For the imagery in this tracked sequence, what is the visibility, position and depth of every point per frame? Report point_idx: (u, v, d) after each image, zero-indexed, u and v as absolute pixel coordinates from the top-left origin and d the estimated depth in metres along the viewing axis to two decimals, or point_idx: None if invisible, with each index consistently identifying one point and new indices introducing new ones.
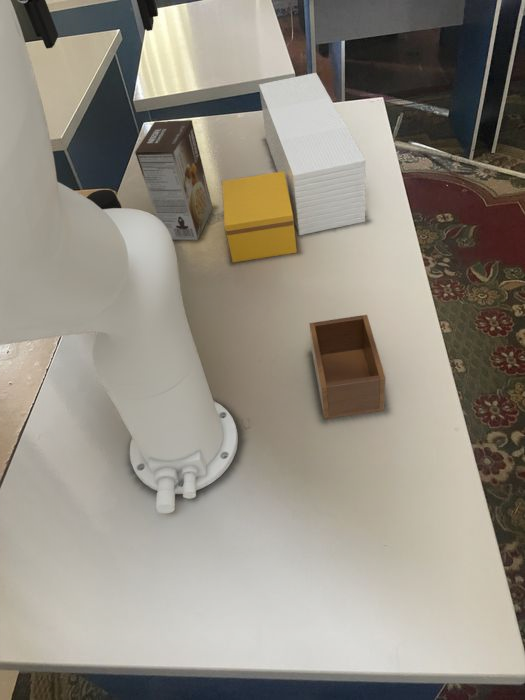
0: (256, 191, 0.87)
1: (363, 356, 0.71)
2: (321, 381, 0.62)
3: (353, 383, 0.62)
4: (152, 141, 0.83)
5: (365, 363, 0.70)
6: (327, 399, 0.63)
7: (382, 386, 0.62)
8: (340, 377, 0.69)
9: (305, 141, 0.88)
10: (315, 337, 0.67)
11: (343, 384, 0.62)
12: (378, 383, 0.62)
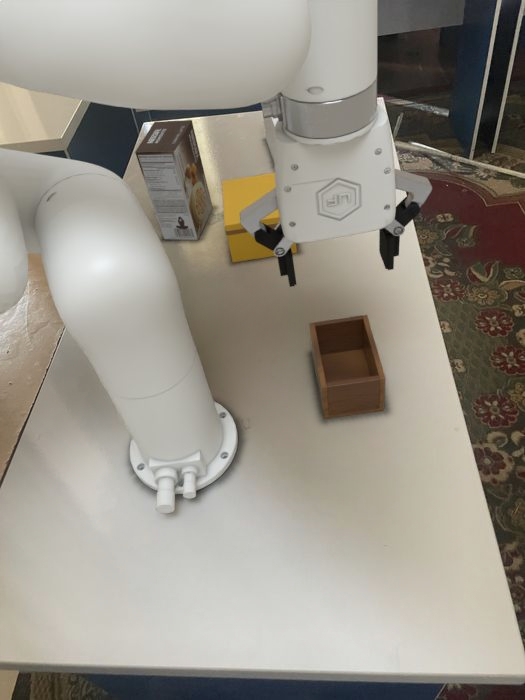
0: (256, 191, 0.87)
1: (363, 356, 0.71)
2: (321, 381, 0.62)
3: (353, 383, 0.62)
4: (152, 141, 0.83)
5: (365, 363, 0.70)
6: (327, 399, 0.63)
7: (382, 386, 0.62)
8: (340, 377, 0.69)
9: None
10: (315, 337, 0.67)
11: (343, 384, 0.62)
12: (378, 383, 0.62)
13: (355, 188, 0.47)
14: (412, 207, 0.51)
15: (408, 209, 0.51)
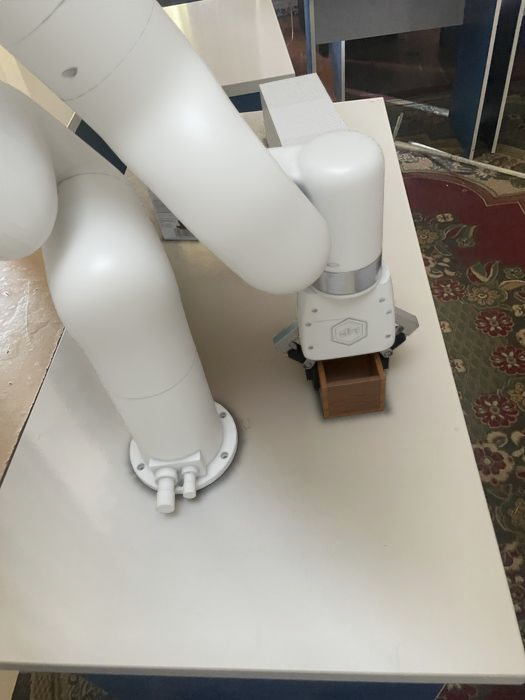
0: None
1: (364, 356, 0.71)
2: (321, 381, 0.62)
3: (353, 383, 0.62)
4: None
5: (365, 363, 0.70)
6: (327, 399, 0.63)
7: (382, 386, 0.62)
8: (341, 376, 0.69)
9: (305, 141, 0.88)
10: None
11: (343, 384, 0.62)
12: (378, 383, 0.62)
13: (362, 324, 0.58)
14: (399, 337, 0.63)
15: (396, 338, 0.63)
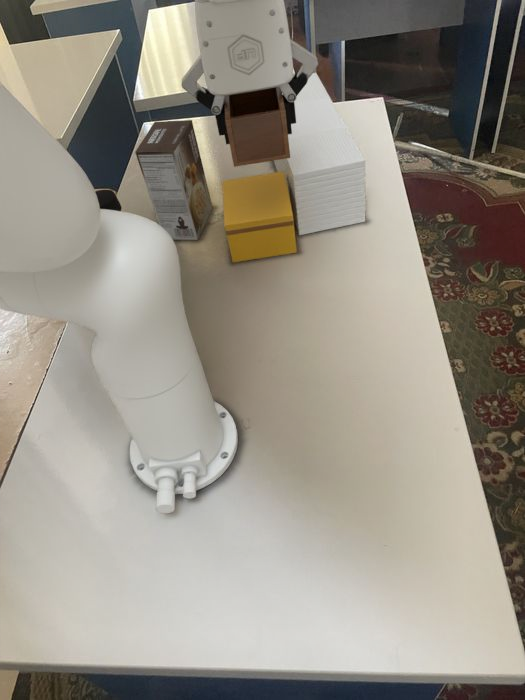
0: (256, 191, 0.87)
1: None
2: (226, 116, 0.66)
3: (255, 115, 0.65)
4: (152, 141, 0.83)
5: None
6: (233, 138, 0.67)
7: (283, 122, 0.66)
8: None
9: (305, 141, 0.88)
10: None
11: (245, 117, 0.65)
12: (279, 117, 0.65)
13: (257, 44, 0.61)
14: (300, 77, 0.66)
15: (298, 79, 0.66)
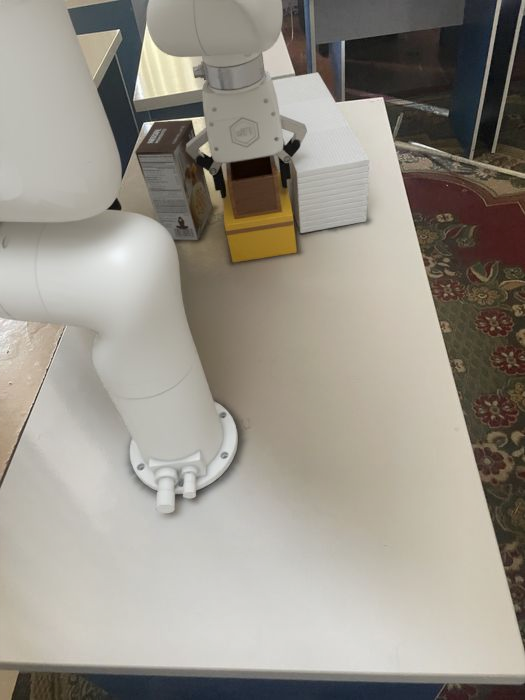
0: None
1: None
2: (228, 180, 0.79)
3: (252, 179, 0.78)
4: (152, 141, 0.83)
5: None
6: (234, 197, 0.80)
7: (276, 184, 0.79)
8: None
9: (308, 139, 0.87)
10: None
11: (244, 180, 0.78)
12: (272, 180, 0.79)
13: (253, 124, 0.75)
14: (294, 143, 0.79)
15: (292, 144, 0.79)
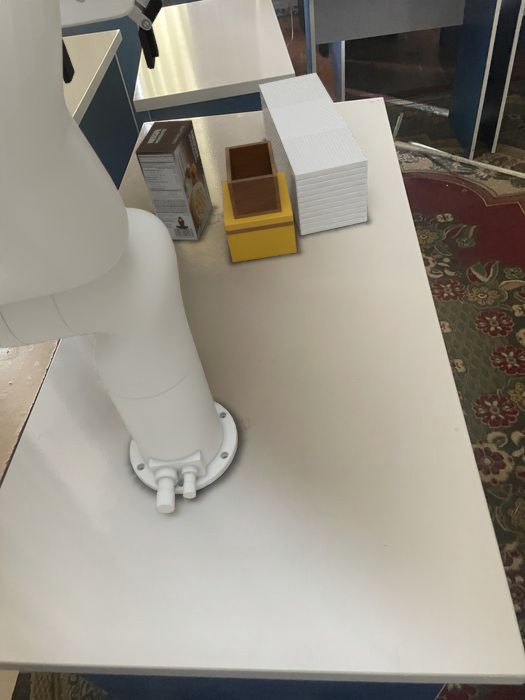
0: None
1: None
2: (228, 180, 0.79)
3: (252, 179, 0.78)
4: (152, 141, 0.83)
5: None
6: (234, 197, 0.80)
7: (276, 184, 0.79)
8: None
9: (306, 141, 0.87)
10: (228, 155, 0.83)
11: (244, 180, 0.78)
12: (272, 180, 0.79)
13: None
14: (153, 0, 0.60)
15: (151, 2, 0.60)
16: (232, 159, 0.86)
